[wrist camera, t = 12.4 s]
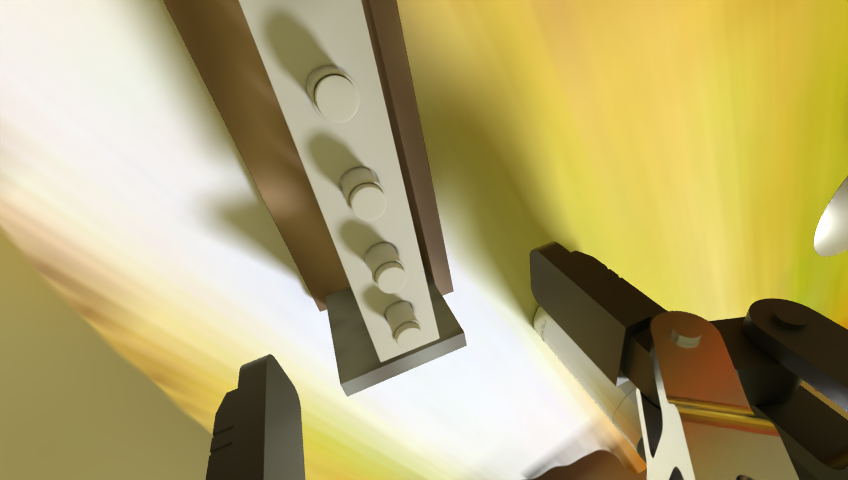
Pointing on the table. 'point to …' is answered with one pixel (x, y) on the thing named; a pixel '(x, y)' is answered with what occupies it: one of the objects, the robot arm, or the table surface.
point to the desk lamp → (834, 225)
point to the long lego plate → (348, 157)
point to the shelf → (290, 187)
